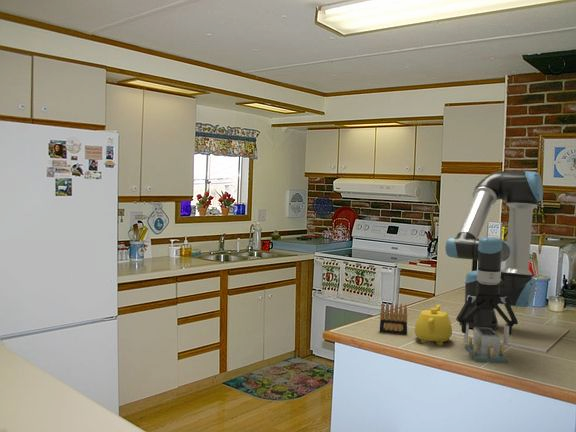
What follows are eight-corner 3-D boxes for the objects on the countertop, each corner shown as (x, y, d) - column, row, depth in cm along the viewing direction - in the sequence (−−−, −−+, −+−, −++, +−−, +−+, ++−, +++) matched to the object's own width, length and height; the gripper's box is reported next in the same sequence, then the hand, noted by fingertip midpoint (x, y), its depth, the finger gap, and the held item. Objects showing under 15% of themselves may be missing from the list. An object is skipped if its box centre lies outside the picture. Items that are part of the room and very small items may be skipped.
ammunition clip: (407, 333, 212) (408, 303, 211) (406, 334, 210) (407, 304, 209) (379, 331, 215) (380, 301, 214) (379, 332, 213) (380, 302, 212)
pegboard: (464, 347, 195) (465, 334, 195) (494, 348, 195) (494, 335, 194) (476, 361, 181) (476, 347, 180) (507, 362, 180) (508, 348, 179)
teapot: (454, 335, 210) (456, 304, 209) (448, 350, 192) (449, 316, 191) (420, 331, 215) (421, 300, 215) (410, 345, 197) (411, 311, 196)
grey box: (473, 346, 193) (474, 326, 193) (490, 347, 193) (491, 327, 192) (480, 356, 182) (481, 335, 182) (499, 357, 182) (500, 336, 181)
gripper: (454, 283, 183) (451, 344, 185) (529, 285, 181) (526, 347, 183) (449, 279, 190) (447, 338, 192) (521, 281, 189) (518, 340, 190)
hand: (485, 342), depth 187 cm, fingers open, 13 cm apart
